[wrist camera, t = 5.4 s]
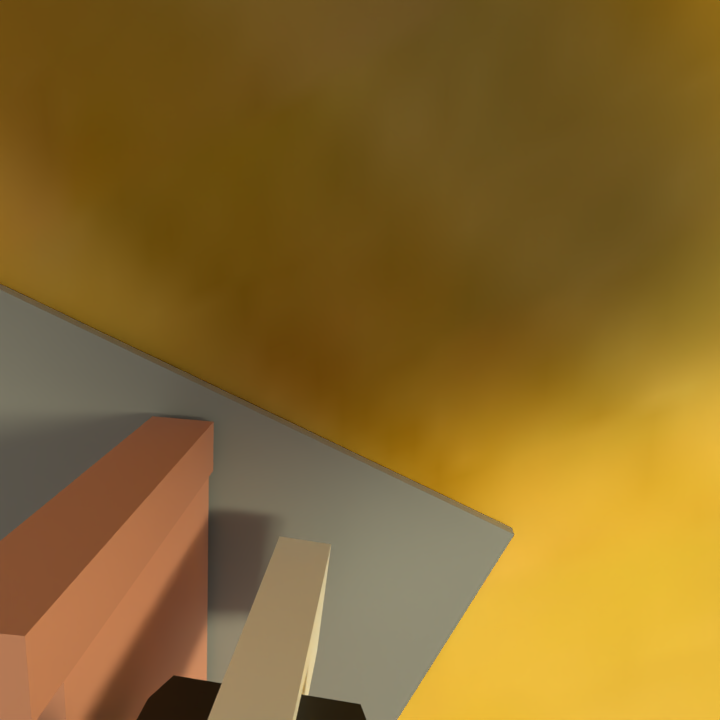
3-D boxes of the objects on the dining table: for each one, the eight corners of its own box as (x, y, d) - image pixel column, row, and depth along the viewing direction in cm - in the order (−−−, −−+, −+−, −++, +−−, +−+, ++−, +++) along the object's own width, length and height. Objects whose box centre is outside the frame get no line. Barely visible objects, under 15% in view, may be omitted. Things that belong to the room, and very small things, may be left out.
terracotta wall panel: (152, 416, 13) (-102, 624, 6) (213, 421, 13) (24, 636, 6) (157, 747, 15) (-25, 1160, 8) (209, 753, 15) (68, 1173, 8)
